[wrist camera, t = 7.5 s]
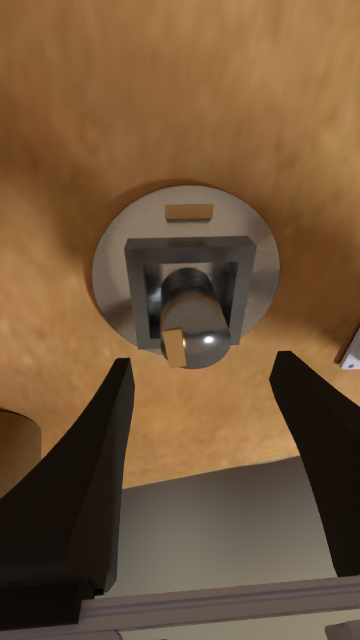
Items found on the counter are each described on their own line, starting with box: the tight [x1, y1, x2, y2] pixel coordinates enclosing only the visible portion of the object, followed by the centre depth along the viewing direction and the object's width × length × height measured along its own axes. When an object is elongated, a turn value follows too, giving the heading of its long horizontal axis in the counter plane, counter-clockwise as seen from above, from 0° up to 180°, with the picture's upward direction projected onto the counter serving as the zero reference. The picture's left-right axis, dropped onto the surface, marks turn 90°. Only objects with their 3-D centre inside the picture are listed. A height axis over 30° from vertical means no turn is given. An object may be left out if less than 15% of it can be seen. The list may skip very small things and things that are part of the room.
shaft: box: [160, 268, 231, 369], centre depth 16 cm, size 4×4×6 cm
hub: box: [92, 184, 280, 355], centre depth 18 cm, size 14×14×3 cm
